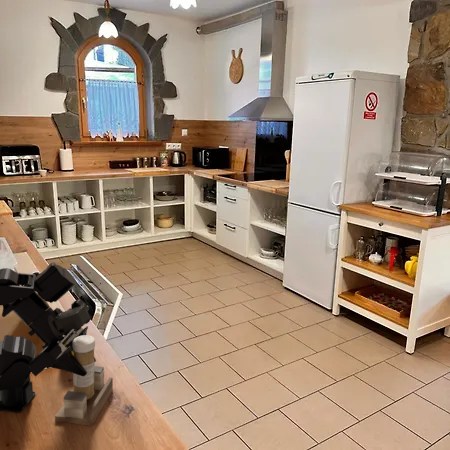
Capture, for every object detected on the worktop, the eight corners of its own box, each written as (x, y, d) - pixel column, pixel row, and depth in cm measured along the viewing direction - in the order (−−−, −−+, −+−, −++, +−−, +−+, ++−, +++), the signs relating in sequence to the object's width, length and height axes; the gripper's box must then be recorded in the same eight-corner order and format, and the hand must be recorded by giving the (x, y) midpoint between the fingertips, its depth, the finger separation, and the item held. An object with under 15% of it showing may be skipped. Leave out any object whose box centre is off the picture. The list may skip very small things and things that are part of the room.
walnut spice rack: (55, 420, 89) (53, 396, 87) (80, 385, 100) (79, 363, 99) (91, 425, 88) (91, 401, 87) (112, 389, 100) (112, 367, 98)
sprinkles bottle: (75, 388, 95) (75, 334, 92) (96, 388, 96) (96, 334, 93) (70, 401, 91) (70, 344, 88) (92, 401, 91) (92, 344, 88)
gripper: (40, 315, 79) (98, 374, 81) (83, 278, 97) (129, 327, 99) (3, 347, 82) (60, 404, 84) (51, 305, 100) (97, 352, 101)
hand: (90, 368), depth 92 cm, fingers closed on sprinkles bottle, 4 cm apart
